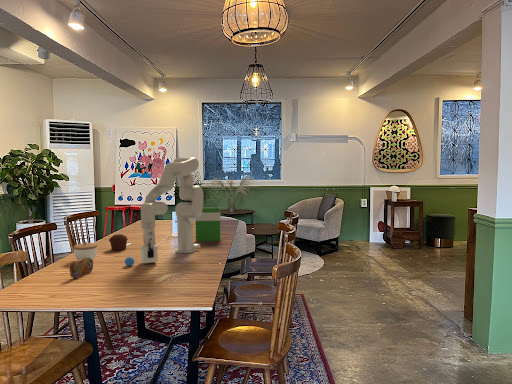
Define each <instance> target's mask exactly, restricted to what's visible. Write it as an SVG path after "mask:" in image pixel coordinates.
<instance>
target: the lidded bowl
mask: <svg viewBox="0 0 512 384" xmlns="http://www.w3.org/2000/svg"><path fill="white" fill-rule="evenodd" d="M97 254H98V244H97V243H94V242H87V241H84V242H83V243H78V244H74V245H73V255H74V257H75V259H76V261H78V260H80V259H83V258H91V259H92V261H94V259H95V258H96V257H97Z"/></svg>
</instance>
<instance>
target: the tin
mask: <svg viewBox="0 0 512 384" xmlns="http://www.w3.org/2000/svg"><path fill="white" fill-rule="evenodd" d="M93 261H94V260H92V259H91V258H83V259H80V260H75V261H73V262H72V263H71V264H70V266H69V274H70V275H69V276H70V277H71V278H73V279H80V278H83V277H85V276H87V275H89V274H91V272H92V271H93V268H94V262H93Z"/></svg>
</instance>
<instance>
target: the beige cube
mask: <svg viewBox="0 0 512 384" xmlns="http://www.w3.org/2000/svg"><path fill="white" fill-rule="evenodd" d="M149 248H150V247H149ZM153 248H154V257H153V258H148V246H146V245H145V244H141V245H140V261H141V262H142V263H143V264H150V263H157V262H158V261H159V255H158V251H159V250H158V245H157V244H156V245H155V246H154V245H153Z"/></svg>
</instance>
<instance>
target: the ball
mask: <svg viewBox="0 0 512 384" xmlns="http://www.w3.org/2000/svg"><path fill="white" fill-rule="evenodd" d="M124 264H125V266H127V267H132V266H133V265H134V264H135V259H134V258H133V257H132V256H128V257H126V258H125V259H124Z"/></svg>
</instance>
